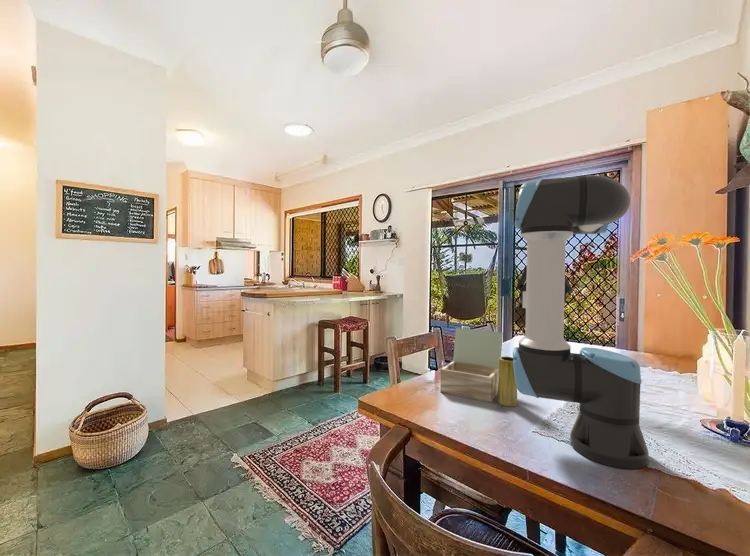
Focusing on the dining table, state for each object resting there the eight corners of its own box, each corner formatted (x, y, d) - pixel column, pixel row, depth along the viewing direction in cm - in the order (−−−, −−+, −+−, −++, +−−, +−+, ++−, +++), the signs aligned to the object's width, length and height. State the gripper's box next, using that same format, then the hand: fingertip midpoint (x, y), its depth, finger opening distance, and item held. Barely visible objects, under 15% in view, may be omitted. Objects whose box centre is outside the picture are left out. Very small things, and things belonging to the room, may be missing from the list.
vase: (514, 399, 112) (515, 356, 111) (520, 407, 105) (521, 361, 105) (495, 398, 112) (495, 355, 112) (500, 406, 106) (500, 360, 106)
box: (491, 402, 109) (491, 377, 109) (440, 392, 118) (440, 369, 118) (499, 390, 120) (499, 367, 120) (452, 381, 129) (452, 360, 129)
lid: (502, 332, 122) (502, 332, 123) (456, 327, 131) (456, 328, 132) (499, 367, 120) (500, 368, 121) (452, 360, 129) (453, 361, 129)
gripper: (583, 252, 121) (582, 312, 121) (517, 254, 141) (516, 306, 141) (574, 251, 116) (572, 313, 117) (507, 254, 136) (506, 307, 137)
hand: (542, 309), depth 129 cm, fingers open, 13 cm apart
